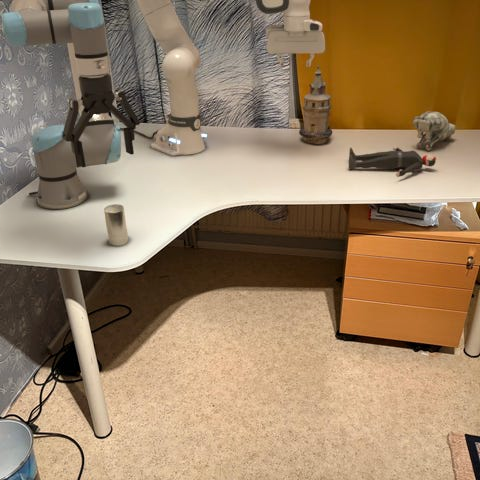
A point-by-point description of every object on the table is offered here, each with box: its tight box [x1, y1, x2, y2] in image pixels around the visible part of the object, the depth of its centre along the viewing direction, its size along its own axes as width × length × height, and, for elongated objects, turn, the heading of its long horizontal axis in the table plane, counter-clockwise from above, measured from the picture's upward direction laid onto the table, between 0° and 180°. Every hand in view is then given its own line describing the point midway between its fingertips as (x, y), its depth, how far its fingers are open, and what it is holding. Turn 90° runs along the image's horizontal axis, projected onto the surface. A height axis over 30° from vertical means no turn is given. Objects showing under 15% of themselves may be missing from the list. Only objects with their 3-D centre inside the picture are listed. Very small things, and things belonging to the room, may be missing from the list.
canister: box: [103, 203, 129, 247], centre depth 147 cm, size 5×5×10 cm
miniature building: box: [298, 65, 333, 145], centre depth 213 cm, size 13×14×30 cm
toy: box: [348, 146, 437, 178], centre depth 192 cm, size 26×6×30 cm
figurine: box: [412, 111, 456, 152], centre depth 210 cm, size 10×19×20 cm
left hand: (106, 159), depth 137 cm, fingers open, 13 cm apart
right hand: (295, 66), depth 189 cm, fingers open, 8 cm apart
